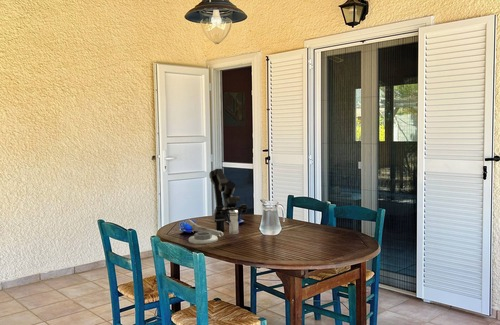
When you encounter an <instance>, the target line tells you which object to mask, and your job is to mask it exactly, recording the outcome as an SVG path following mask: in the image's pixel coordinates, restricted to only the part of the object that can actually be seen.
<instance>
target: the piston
mask: <svg viewBox="0 0 500 325" xmlns="http://www.w3.org/2000/svg"><path fill="white" fill-rule="evenodd" d="M228 216H229V219H230V223H229V222H228V226H229V227H228V228H229V229H228V231H229V234H230V235H237V234H239V222H238V210H229V211H228Z"/></svg>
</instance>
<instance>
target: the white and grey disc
mask: <svg viewBox="0 0 500 325" xmlns="http://www.w3.org/2000/svg"><path fill="white" fill-rule="evenodd" d="M218 237H219V236H215V235H212V233H210V232H201V231H198V232H195V233H194V234H193V235H191V236H190V237H189V238H188V242H189V243H190V244H195V245H207V244H213V243H216V242H218V240H219V238H218Z"/></svg>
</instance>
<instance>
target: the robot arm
mask: <svg viewBox="0 0 500 325" xmlns="http://www.w3.org/2000/svg"><path fill="white" fill-rule="evenodd" d="M208 176H209V179H210V182H211V183H212V185H213V190H214V199H215V209H214V211H213V212H214V213H213V215H212V220H213V221H212V222H213V223H215V230H217V231H221V232H223V233H224V232H226V230H227V228H226V224H225V222H228V224H229V223H230V219H229V210H238V223H240V221H241V220H240V218H241V215H242V214H246V213H247V211H248V208H249V207H248V204H246V203H243V204H240V205H239V206H237V203H239V202H240V200H241V199H240V196H239V195H236V196H233V194H234V192H235V190H236V189H235V188H236V184H235V183H234V182H233V181H232V180H229V179H227V178H226V175H225V174H224V168H215V169H214V170H211V171H210V172H209V175H208ZM223 201H224V202H223Z"/></svg>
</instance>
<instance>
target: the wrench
mask: <svg viewBox="0 0 500 325" xmlns="http://www.w3.org/2000/svg"><path fill="white" fill-rule="evenodd" d="M183 224H187V225H188V226H189V225H190V226H192V228H191V229H192V232H193V233H194V232H195V231H198V232H210V233H212V235H215V236H217V237H219V238H221V237H224V232H221V231H217V230H216V229H213V228H208V227H204V226H201V225H199V224H197V223H195V222H194V221H193V220H191V219H186V220H185V221H184V223H183ZM193 233H192V234H193ZM194 234H195V233H194Z"/></svg>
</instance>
